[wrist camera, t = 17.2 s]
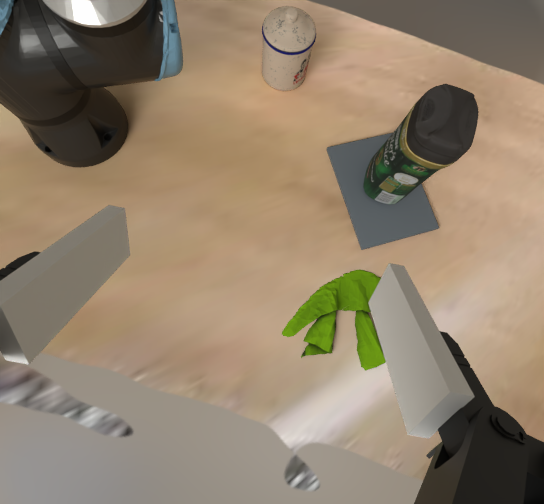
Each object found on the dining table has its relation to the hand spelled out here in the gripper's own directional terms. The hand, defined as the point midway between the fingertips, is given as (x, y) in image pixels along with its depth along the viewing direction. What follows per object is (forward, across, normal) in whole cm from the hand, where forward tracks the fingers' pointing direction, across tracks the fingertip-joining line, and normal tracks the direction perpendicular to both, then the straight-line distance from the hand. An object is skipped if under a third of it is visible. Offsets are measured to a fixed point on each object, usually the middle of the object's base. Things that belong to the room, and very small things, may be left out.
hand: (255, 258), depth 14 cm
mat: (+40, +20, -7) cm, 45 cm away
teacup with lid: (+55, -3, +8) cm, 55 cm away
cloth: (+22, +16, -26) cm, 37 cm away
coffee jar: (+40, +20, -6) cm, 45 cm away
